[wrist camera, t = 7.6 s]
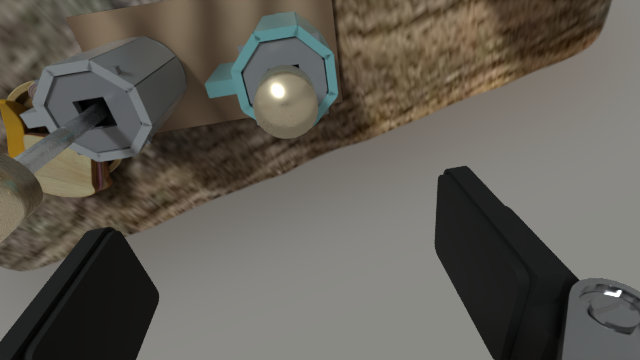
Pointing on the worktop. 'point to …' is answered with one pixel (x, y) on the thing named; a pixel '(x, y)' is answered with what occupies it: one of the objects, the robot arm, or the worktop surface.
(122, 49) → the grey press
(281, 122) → the beige knobbed plunger
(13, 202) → the beige knobbed rod
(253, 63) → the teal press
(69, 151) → the toy sandwich meal
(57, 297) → the robot arm
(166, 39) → the board
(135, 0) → the worktop surface
